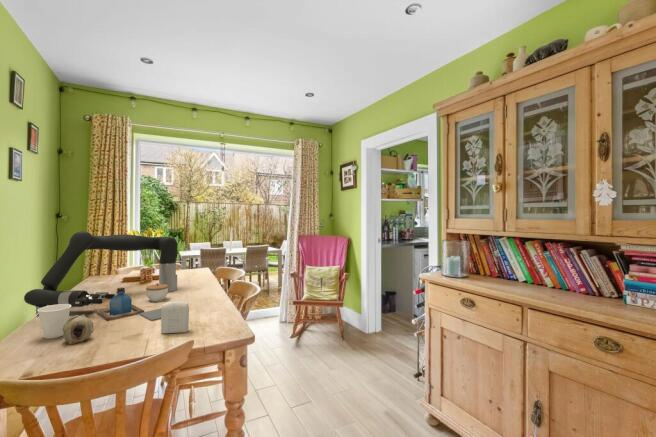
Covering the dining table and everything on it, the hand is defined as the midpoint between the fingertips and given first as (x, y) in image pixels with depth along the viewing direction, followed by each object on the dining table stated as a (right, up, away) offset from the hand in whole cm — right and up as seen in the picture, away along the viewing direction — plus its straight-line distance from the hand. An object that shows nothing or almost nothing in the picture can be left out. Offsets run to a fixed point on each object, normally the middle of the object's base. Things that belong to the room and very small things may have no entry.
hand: (108, 298), depth 148 cm
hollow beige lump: (+11, -8, -31) cm, 34 cm away
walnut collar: (+6, -7, 0) cm, 9 cm away
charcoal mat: (+25, -7, 0) cm, 26 cm away
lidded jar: (+10, -7, +23) cm, 27 cm away
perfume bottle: (+6, -7, 0) cm, 9 cm away
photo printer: (+42, -8, -22) cm, 48 cm away
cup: (-1, -7, -28) cm, 29 cm away
